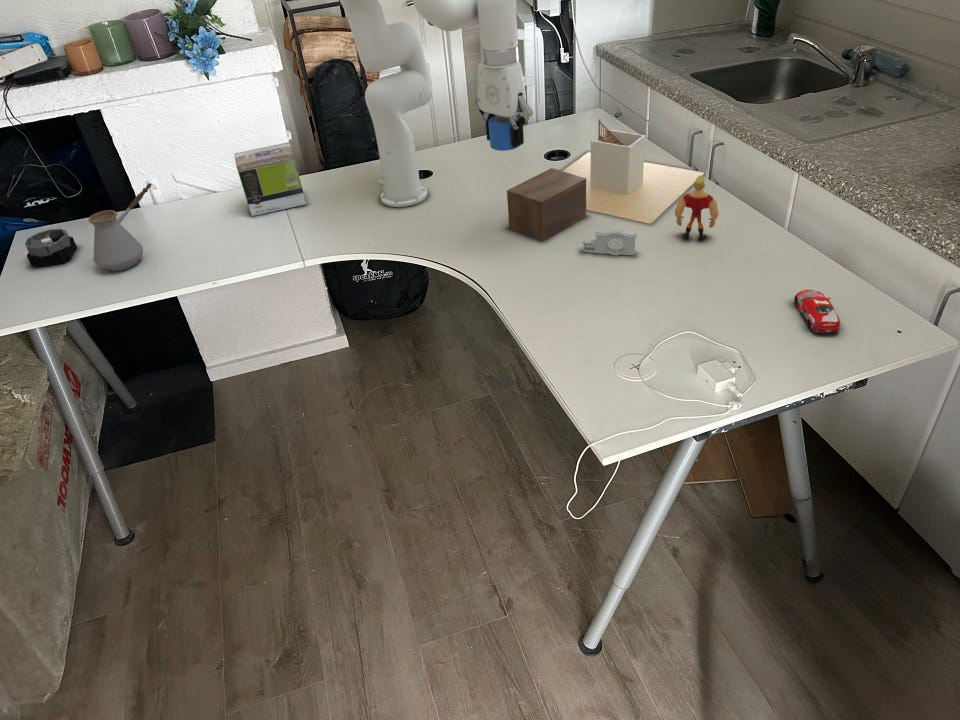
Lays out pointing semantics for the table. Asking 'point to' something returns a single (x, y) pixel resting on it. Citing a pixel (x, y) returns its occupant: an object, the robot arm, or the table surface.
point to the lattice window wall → (605, 237)
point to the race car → (817, 311)
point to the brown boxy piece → (547, 204)
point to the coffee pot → (115, 239)
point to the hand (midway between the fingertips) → (505, 141)
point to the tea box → (270, 178)
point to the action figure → (697, 208)
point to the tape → (500, 133)
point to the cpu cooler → (50, 247)
